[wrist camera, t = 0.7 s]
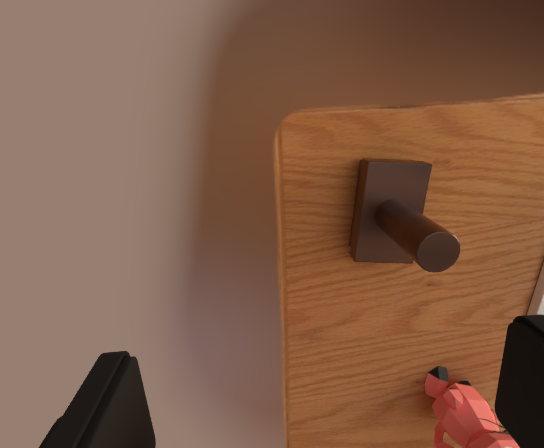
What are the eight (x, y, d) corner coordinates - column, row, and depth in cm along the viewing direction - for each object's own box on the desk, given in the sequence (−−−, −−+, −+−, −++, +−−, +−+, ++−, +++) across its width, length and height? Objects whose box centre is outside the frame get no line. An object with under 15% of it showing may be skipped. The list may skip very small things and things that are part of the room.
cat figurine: (493, 379, 34) (612, 516, 23) (445, 426, 36) (534, 576, 25) (440, 347, 33) (539, 476, 21) (392, 397, 34) (461, 543, 23)
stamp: (357, 156, 27) (410, 181, 18) (415, 158, 27) (496, 185, 18) (345, 248, 29) (386, 312, 20) (399, 250, 29) (463, 314, 20)
